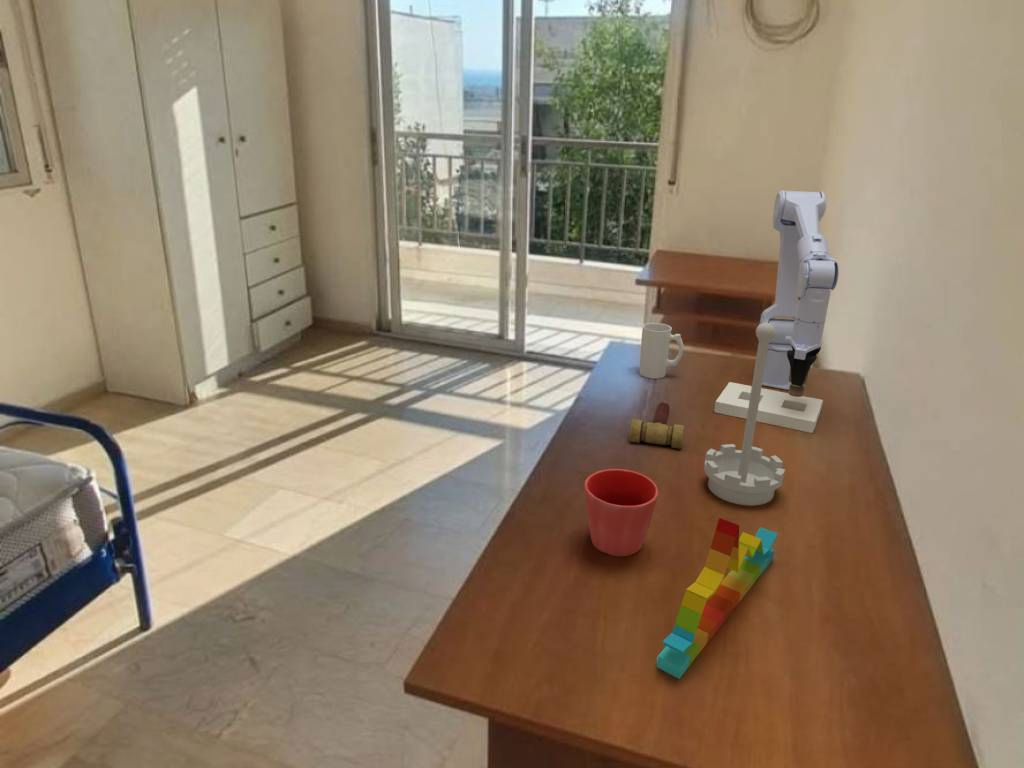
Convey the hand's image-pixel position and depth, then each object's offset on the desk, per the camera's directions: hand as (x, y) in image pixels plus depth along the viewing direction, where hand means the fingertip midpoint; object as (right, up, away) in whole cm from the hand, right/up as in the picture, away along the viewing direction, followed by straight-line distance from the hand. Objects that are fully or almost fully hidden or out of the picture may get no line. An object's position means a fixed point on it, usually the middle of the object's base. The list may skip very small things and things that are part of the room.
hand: (798, 381), depth 151 cm
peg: (0, -3, +1) cm, 3 cm away
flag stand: (-20, -19, -25) cm, 38 cm away
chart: (-32, -31, -54) cm, 70 cm away
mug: (-24, +1, +24) cm, 34 cm away
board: (-5, -6, +5) cm, 9 cm away
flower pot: (-44, -25, -41) cm, 65 cm away
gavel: (-29, -10, -2) cm, 31 cm away
